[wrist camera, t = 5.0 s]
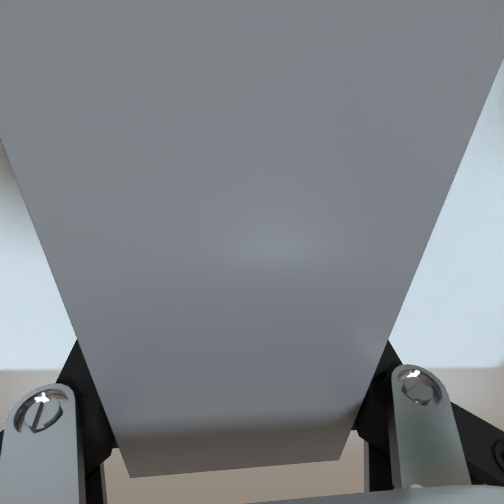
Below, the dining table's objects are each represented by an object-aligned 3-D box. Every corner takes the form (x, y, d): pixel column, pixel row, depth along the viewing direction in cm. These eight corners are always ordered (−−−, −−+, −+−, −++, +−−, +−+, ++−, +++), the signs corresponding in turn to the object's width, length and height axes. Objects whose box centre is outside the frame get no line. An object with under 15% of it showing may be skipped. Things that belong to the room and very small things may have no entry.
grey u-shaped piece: (301, 332, 13) (338, 459, 9) (158, 338, 13) (130, 477, 9) (397, -190, 6) (852, -797, 2) (58, -237, 5) (-580, -1379, 1)
